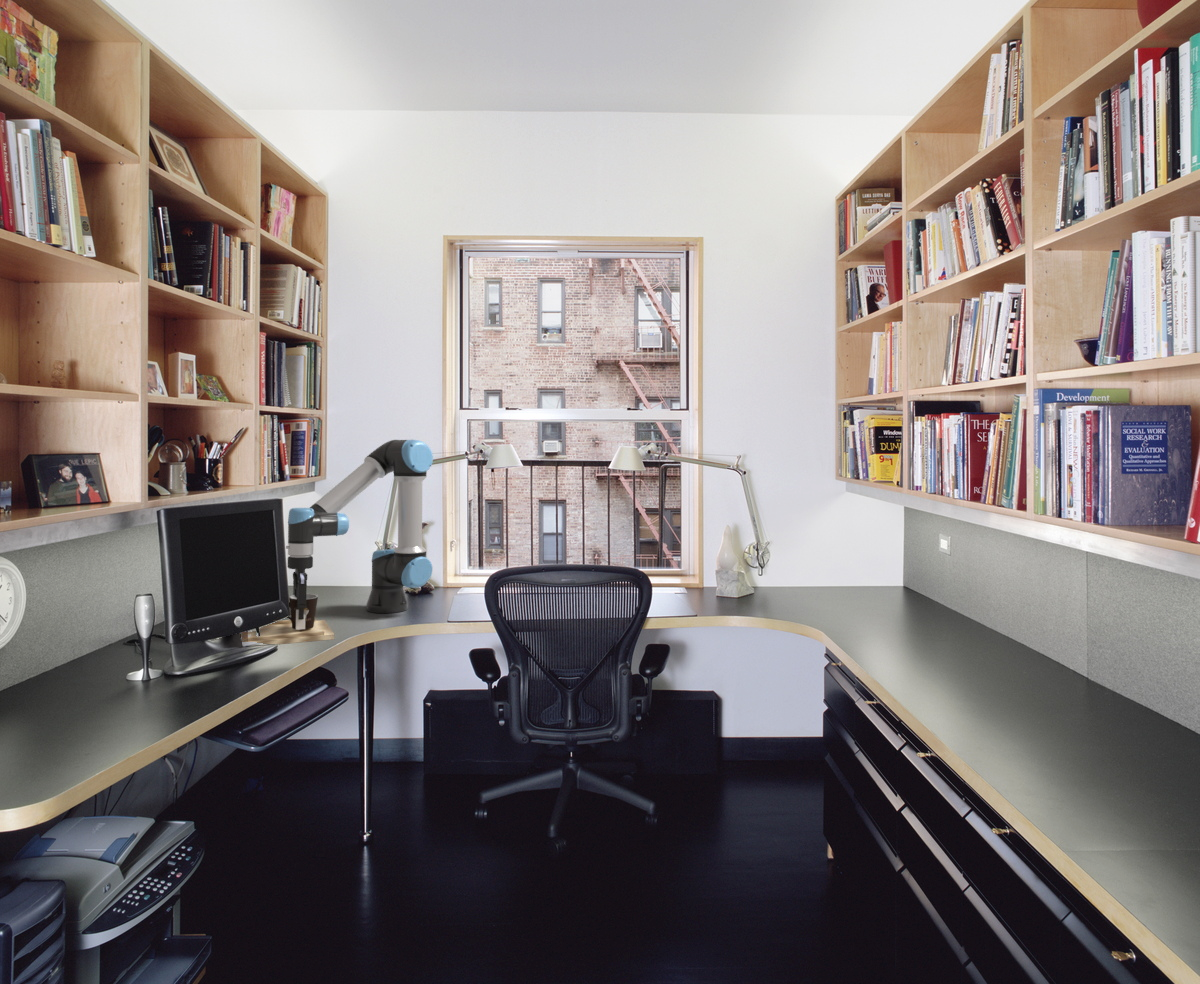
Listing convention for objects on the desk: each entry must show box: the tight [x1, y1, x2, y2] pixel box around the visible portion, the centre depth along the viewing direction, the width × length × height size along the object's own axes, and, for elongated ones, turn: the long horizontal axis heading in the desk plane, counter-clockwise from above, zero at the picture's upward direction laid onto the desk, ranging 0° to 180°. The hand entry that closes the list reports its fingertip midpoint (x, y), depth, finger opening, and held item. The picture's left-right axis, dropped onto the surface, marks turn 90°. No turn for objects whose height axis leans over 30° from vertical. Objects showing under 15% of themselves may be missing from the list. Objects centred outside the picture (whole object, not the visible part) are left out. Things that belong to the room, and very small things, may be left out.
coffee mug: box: [286, 593, 319, 630], centre depth 227 cm, size 12×9×10 cm
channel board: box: [241, 619, 335, 645], centre depth 225 cm, size 26×22×6 cm
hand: (299, 626), depth 227 cm, fingers closed on coffee mug, 6 cm apart
